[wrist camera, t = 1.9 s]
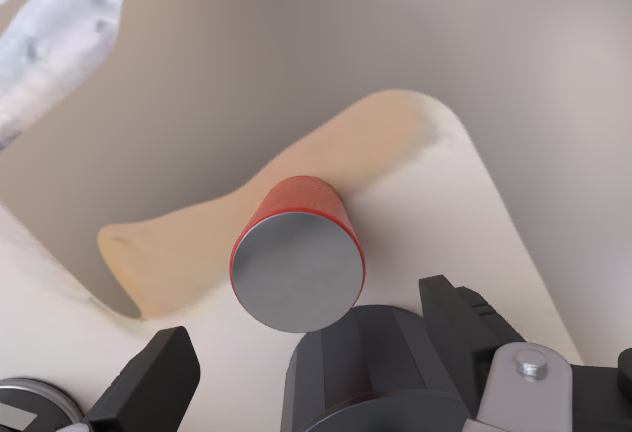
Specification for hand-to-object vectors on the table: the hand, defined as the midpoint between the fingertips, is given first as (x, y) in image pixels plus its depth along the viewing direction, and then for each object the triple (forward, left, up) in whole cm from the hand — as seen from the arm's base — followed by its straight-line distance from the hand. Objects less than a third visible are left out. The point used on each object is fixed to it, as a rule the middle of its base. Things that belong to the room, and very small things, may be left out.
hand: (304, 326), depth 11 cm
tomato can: (0, 0, -13) cm, 13 cm away
